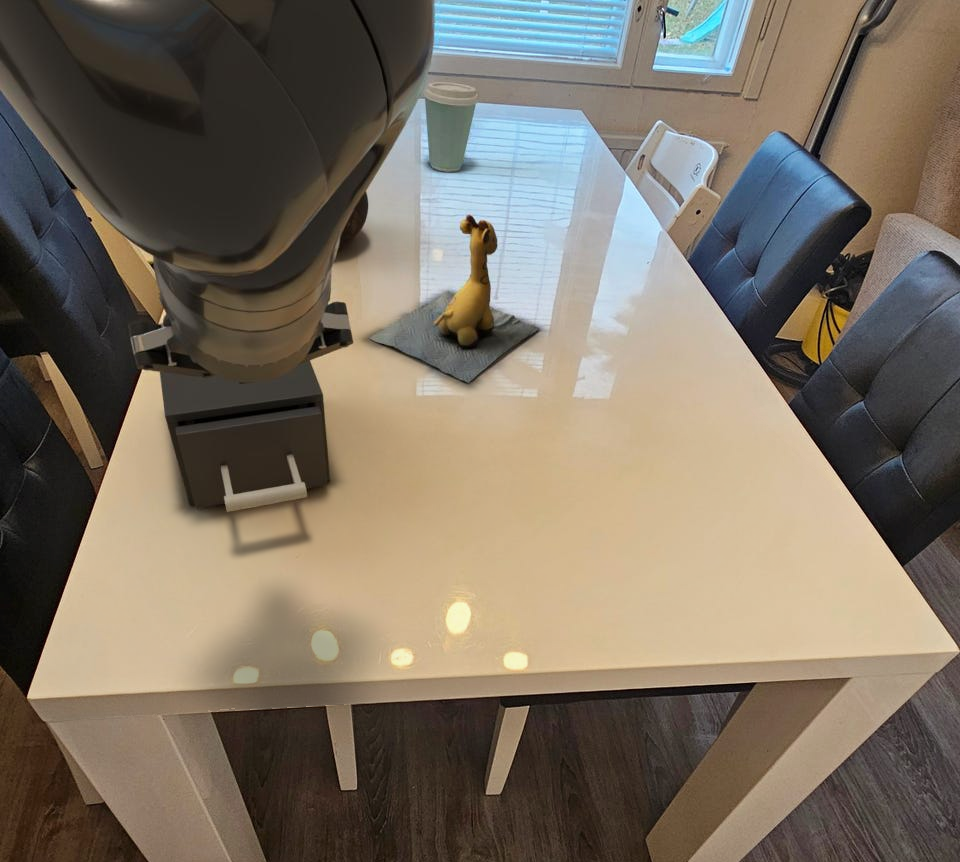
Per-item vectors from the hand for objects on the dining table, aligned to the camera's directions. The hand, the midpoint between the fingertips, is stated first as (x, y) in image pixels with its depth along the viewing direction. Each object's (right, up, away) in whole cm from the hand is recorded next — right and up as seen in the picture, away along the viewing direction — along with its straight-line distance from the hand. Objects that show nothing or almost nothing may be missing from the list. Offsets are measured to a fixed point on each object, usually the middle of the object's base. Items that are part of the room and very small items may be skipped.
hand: (246, 368), depth 50 cm
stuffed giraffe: (+13, +14, +47) cm, 51 cm away
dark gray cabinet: (-8, -3, +26) cm, 28 cm away
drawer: (-6, -6, +22) cm, 24 cm away
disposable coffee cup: (+10, +61, +95) cm, 114 cm away
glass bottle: (-11, +34, +64) cm, 73 cm away
